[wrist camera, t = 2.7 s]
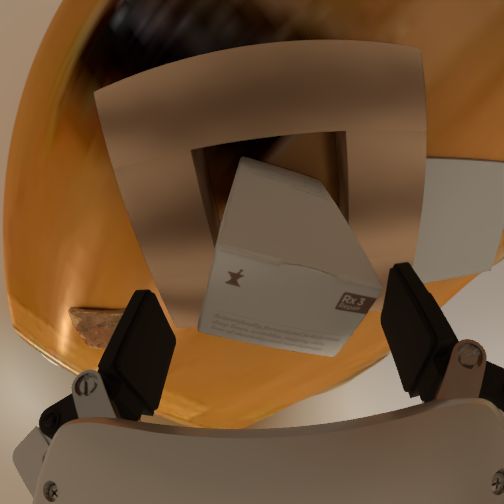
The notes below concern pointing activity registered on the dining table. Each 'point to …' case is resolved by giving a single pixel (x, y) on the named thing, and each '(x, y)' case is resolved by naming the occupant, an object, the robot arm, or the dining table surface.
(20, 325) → the dining table surface
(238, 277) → the skincare box
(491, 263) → the grey mat
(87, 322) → the shard
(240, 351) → the dining table surface
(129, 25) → the dining table surface
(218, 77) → the walnut holder
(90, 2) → the dining table surface
